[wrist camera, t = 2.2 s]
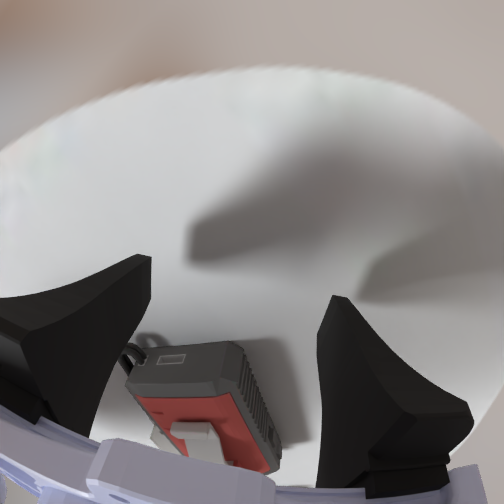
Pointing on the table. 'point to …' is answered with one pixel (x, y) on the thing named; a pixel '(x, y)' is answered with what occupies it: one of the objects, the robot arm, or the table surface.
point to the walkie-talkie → (204, 404)
